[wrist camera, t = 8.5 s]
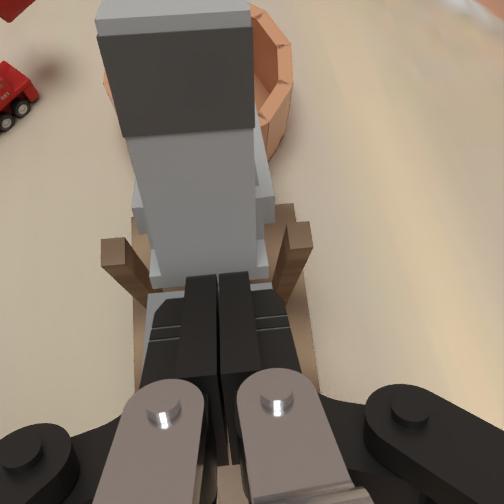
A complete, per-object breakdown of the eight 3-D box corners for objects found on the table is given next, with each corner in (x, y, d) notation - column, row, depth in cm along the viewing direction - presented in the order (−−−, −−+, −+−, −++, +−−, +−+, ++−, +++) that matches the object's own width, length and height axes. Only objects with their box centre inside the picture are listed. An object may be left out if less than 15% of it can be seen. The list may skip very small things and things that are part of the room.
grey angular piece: (303, 432, 17) (348, 126, 8) (138, 450, 17) (-26, 155, 7) (253, 154, 30) (247, -88, 20) (159, 162, 29) (109, -81, 20)
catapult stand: (317, 399, 31) (375, 399, 17) (140, 418, 30) (59, 433, 17) (291, 211, 35) (321, 95, 22) (136, 224, 34) (69, 114, 21)
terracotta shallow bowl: (96, 143, 36) (66, 92, 30) (181, 32, 40) (170, -33, 34) (235, 216, 35) (233, 178, 29) (310, 94, 38) (323, 37, 32)
